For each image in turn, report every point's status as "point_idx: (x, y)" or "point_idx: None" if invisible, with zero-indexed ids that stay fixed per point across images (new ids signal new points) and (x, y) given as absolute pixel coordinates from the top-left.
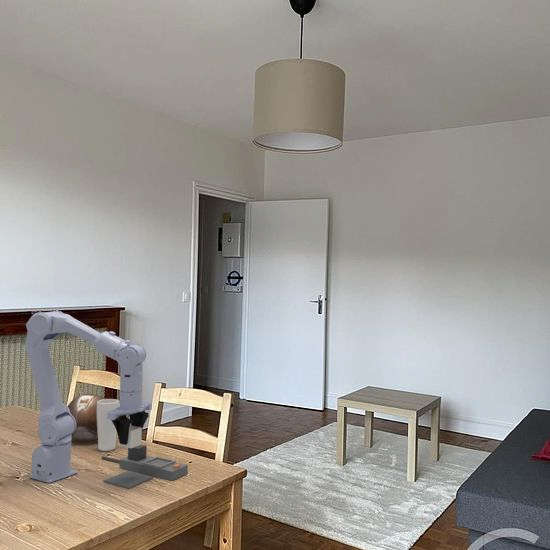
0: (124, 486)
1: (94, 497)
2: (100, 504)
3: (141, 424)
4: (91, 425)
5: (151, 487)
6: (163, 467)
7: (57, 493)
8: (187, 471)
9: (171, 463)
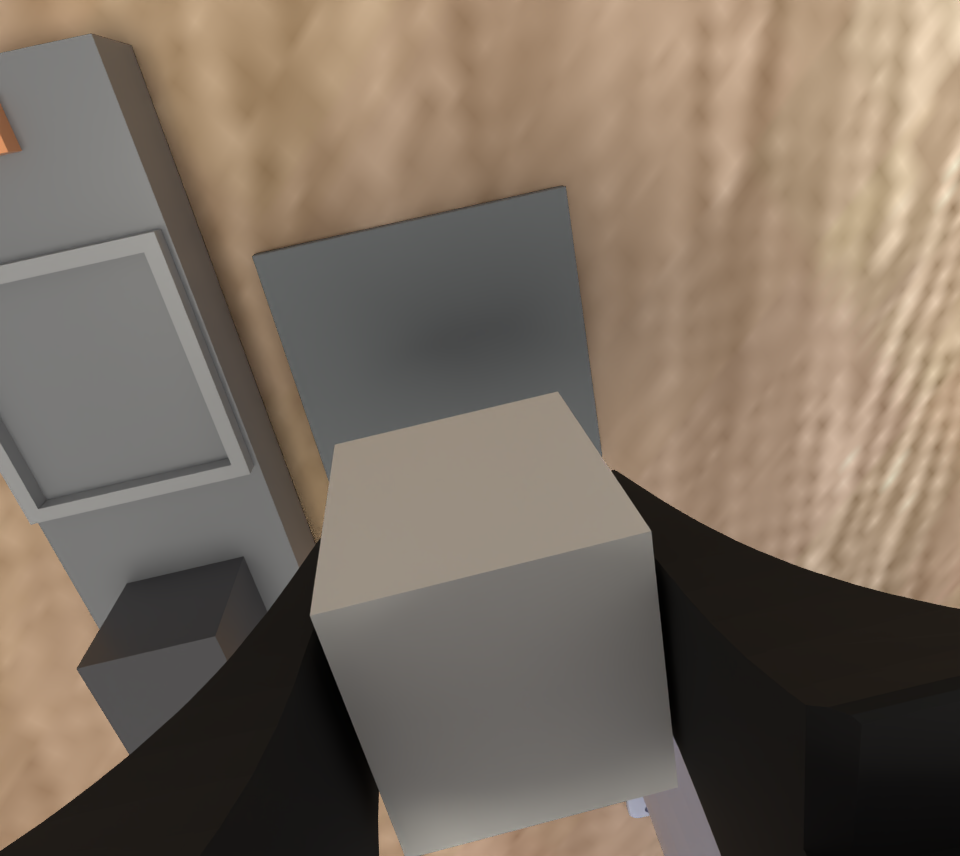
0: (572, 241)
1: (846, 226)
2: (929, 50)
3: (275, 697)
4: None
5: (398, 55)
6: (114, 239)
7: (914, 468)
8: None
9: None
